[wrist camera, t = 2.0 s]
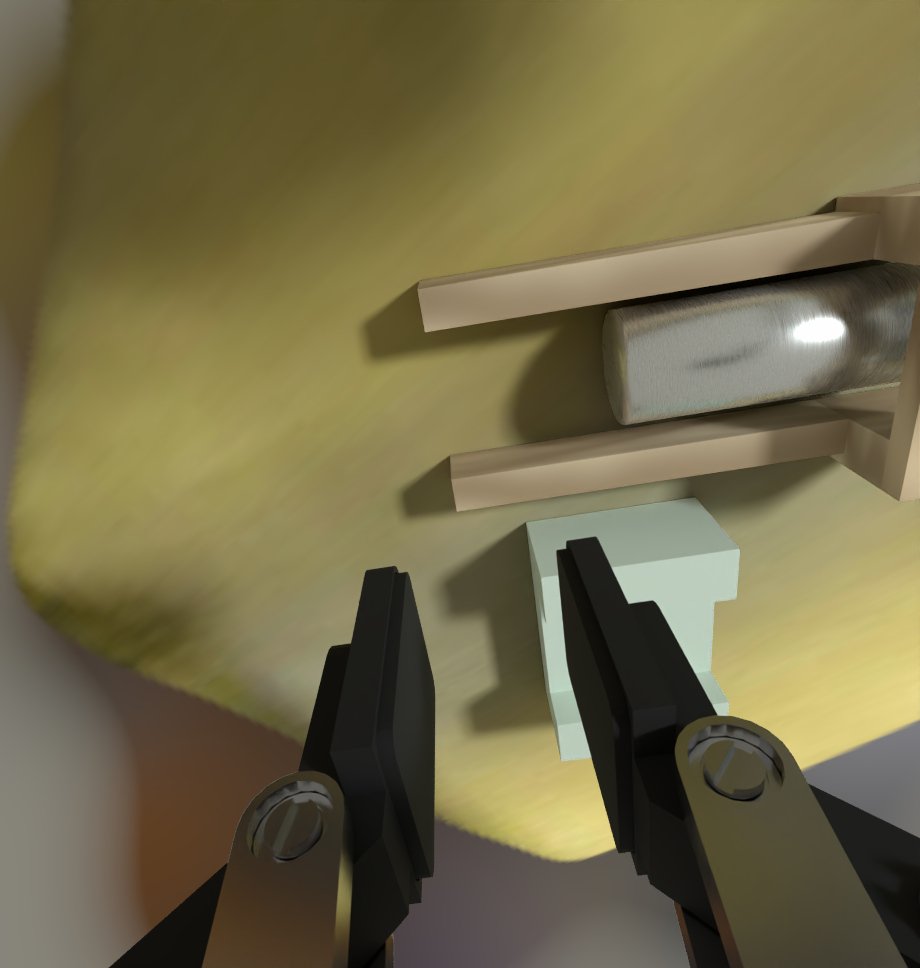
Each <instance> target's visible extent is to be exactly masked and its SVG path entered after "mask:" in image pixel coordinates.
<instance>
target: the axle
mask: <svg viewBox="0 0 920 968" xmlns="http://www.w3.org/2000/svg"><path fill="white" fill-rule="evenodd" d="M919 282H920V265H913V264H906V263H898V262H895V263H889V264H883V265H877V266H871V267H865V268H859V269H853V270H847V271H841V272H835V273H829V274H823V275H817V276H811V277H805V278H799V279H793V280H787V281H781V282H775V283H769V284H763V285H757V286H751V287H745V288H739V289H733V290H727V291H721V292H715V293H709V294H703V295H697V296H691V297H685V298H679V299H673V300H667V301H661V302H655V303H649V304H643V305H637V306H631V307H625V308H619V309H613V310H609V311H608V312H607V314H606V316H605V319H604V323H603V330H602V345H603V366H604V380H605V385H606V390H607V395H608V399H609V402H610V405H611V408H612V411H613V413H614V415H615V417H616V419H617V421H618V422H619V423H620V424H621V425H628V424H634V423H641V422H647V421H653V420H659V419H666V418H672V417H678V416H685V415H691V414H697V413H704V412H710V411H716V410H723V409H729V408H735V407H742V406H748V405H754V404H761V403H767V402H773V401H780V400H786V399H792V398H799V397H805V396H811V395H818V394H824V393H830V392H836V391H843V390H849V389H855V388H862V387H868V386H874V385H881V384H887V383H893V382H900V381H901V378H902V372H903V367H904V362H905V356H906V351H907V346H908V340H909V335H910V330H911V324H912V319H913V314H914V309H915V303H916V298H917V293H918V287H919Z"/></svg>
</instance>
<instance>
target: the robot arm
mask: <svg viewBox="0 0 920 968" xmlns="http://www.w3.org/2000/svg"><path fill="white" fill-rule="evenodd" d="M556 557H557V567H558V578H559V589H560V599H561V610H562V620H563V631H564V641H565V652H566V661H567V667H568V673H569V677H570V681H571V685H572V688H573V692H574V696H575V699H576V703H577V706H578V710H579V714H580V717H581V721H582V725H583V728H584V732H585V736H586V739H587V743H588V746H589V750H590V754H591V757H592V761H593V765H594V768H595V772H596V776H597V779H598V783H599V787H600V790H601V794H602V797H603V801H604V805H605V808H606V812H607V816H608V819H609V823H610V827H611V830H612V834H613V837H614V841H615V845H616V848H617V850H618V852H619V853H625V852H631V855H632V858H633V862H634V865H635V868H636V872H637V875H646V874H647V875H648V879H649V882H650V884H651V885H653V886H654V887H655V888H657V889H658V890H660V891H661V892H663V893H664V894H665V895H667V896H668V897H670V898H671V899H673V900H674V908H675V911H676V915H677V919H678V922H679V927H680V931H681V934H682V938H683V942H684V946H685V950H686V953H687V957H688V961H689V965H690V968H920V838H918V837H916V836H914V835H912V834H910V833H908V832H906V831H904V830H902V829H900V828H898V827H896V826H894V825H892V824H890V823H888V822H886V821H884V820H882V819H879V818H877V817H875V816H873V815H871V814H869V813H867V812H865V811H863V810H861V809H859V808H857V807H855V806H853V805H851V804H849V803H847V802H845V801H843V800H840V799H838V798H836V797H834V796H832V795H830V794H828V793H826V792H824V791H822V790H820V789H818V788H816V787H814V786H812V785H810V784H808V783H807V781H806V779H805V778H804V775H803V774H802V772H801V770H800V768H799V766H798V764H797V762H796V761H795V759H794V757H793V756H792V754H791V753H790V752H789V750H788V749H787V747H786V746H785V745H784V743H783V742H782V741H781V740H779V739H778V738H777V737H776V736H774V735H773V734H772V733H771V732H770V731H768V730H767V729H765V728H763V727H761V726H759V725H757V724H755V723H753V722H751V721H748V720H744V719H741V718H737V717H733V716H718V714H717V713H716V711H715V709H714V707H713V705H712V703H711V702H710V700H709V698H708V696H707V694H706V692H705V690H704V689H703V687H702V685H701V683H700V681H699V679H698V678H697V676H696V674H695V672H694V670H693V668H692V667H691V665H690V663H689V661H688V659H687V657H686V656H685V654H684V652H683V650H682V648H681V646H680V644H679V643H678V641H677V639H676V637H675V635H674V633H673V632H672V630H671V628H670V626H669V624H668V622H667V621H666V619H665V617H664V615H663V613H662V611H661V610H660V608H659V606H658V605H657V603H656V602H654V601H653V600H651V601H644V602H637V603H630V604H629V603H628V601H627V599H626V597H625V595H624V593H623V591H622V589H621V587H620V584H619V582H618V580H617V578H616V576H615V574H614V572H613V570H612V567H611V565H610V563H609V561H608V559H607V557H606V555H605V553H604V551H603V548H602V546H601V544H600V542H599V540H598V538H597V537H596V536H594V537H588V538H581V539H574V540H567V541H566V549H560V550H557V551H556ZM434 794H435V687H434V680H433V675H432V671H431V666H430V662H429V658H428V654H427V649H426V645H425V641H424V636H423V632H422V628H421V623H420V619H419V615H418V611H417V606H416V602H415V598H414V593H413V589H412V585H411V581H410V577H409V574H408V572H404V573H399V572H398V570H397V567H396V566H392V567H385V568H378V569H371V570H367V571H366V572H365V576H364V581H363V586H362V591H361V596H360V601H359V606H358V612H357V617H356V622H355V627H354V632H353V637H352V642H351V644H344V645H337V646H332V647H331V648H330V649H329V651H328V654H327V657H326V661H325V665H324V669H323V673H322V677H321V682H320V686H319V690H318V694H317V698H316V702H315V706H314V710H313V714H312V718H311V722H310V726H309V730H308V734H307V738H306V742H305V746H304V750H303V754H302V758H301V763H300V767H299V771H298V772H296V773H293V774H290V775H287V776H284V777H281V778H280V779H278V780H276V781H275V782H273V783H271V784H270V785H268V786H267V787H266V788H264V789H263V790H262V791H261V792H260V793H259V794H258V795H257V796H256V797H255V798H254V799H253V800H252V801H251V803H250V804H249V805H248V807H247V808H246V810H245V811H244V813H243V814H242V816H241V819H240V821H239V824H238V826H237V829H236V832H235V836H234V840H233V844H232V848H231V852H230V856H229V860H228V863H227V864H225V865H224V866H223V867H222V868H221V869H220V870H219V871H218V872H217V873H215V874H214V875H213V876H212V877H211V878H210V879H209V880H208V881H206V882H205V883H204V884H203V885H202V886H201V887H199V888H198V889H197V890H196V891H195V892H194V893H193V894H192V895H191V896H189V897H188V898H187V899H186V900H185V901H184V902H183V903H182V904H180V905H179V906H178V907H177V908H176V909H175V910H174V911H172V912H171V913H170V914H169V915H168V916H167V917H166V918H164V920H162V921H161V922H160V923H159V924H158V925H157V926H155V927H154V928H153V929H152V930H151V931H150V932H149V933H148V934H147V935H146V936H144V937H143V938H142V939H141V940H140V941H139V942H137V943H136V944H135V945H134V946H133V947H132V948H131V949H130V950H128V951H127V952H126V953H125V954H124V955H123V956H122V957H121V958H120V959H118V960H117V961H116V962H115V963H114V964H113V965H111V966H110V967H109V968H394V939H393V932H394V931H395V929H396V928H397V927H398V926H399V925H400V924H401V922H402V921H403V920H404V919H405V918H406V916H407V915H408V914H409V904H414V903H421V891H422V878H428V877H433V872H434Z"/></svg>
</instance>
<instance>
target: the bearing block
mask: <svg viewBox="0 0 920 968" xmlns="http://www.w3.org/2000/svg"><path fill="white" fill-rule="evenodd" d="M872 259H875V260H883V261H890V262H898V263H906V264H913V265H920V183H918V184H912V185H906V186H900V187H894V188H888V189H882V190H876V191H870V192H864V193H858V194H852V195H846V196H840V197H837V202H836V210H835V212H830V213H824V214H818V215H812V216H806V217H800V218H794V219H788V220H782V221H776V222H770V223H764V224H758V225H752V226H746V227H740V228H734V229H728V230H722V231H716V232H710V233H704V234H698V235H692V236H686V237H680V238H674V239H668V240H662V241H656V242H650V243H644V244H638V245H632V246H626V247H620V248H613V249H607V250H601V251H595V252H589V253H583V254H577V255H571V256H565V257H559V258H553V259H547V260H541V261H535V262H529V263H523V264H517V265H511V266H505V267H499V268H493V269H487V270H481V271H475V272H469V273H463V274H457V275H451V276H445V277H439V278H433V279H427V280H421V281H419V285H418V289H417V290H418V296H419V302H420V307H421V313H422V318H423V324H424V330H425V332H430V331H436V330H442V329H449V328H455V327H461V326H467V325H473V324H479V323H485V322H492V321H498V320H504V319H510V318H516V317H522V316H528V315H534V314H541V313H547V312H553V311H559V310H565V309H571V308H577V307H584V306H590V305H596V304H602V303H608V302H614V301H620V300H627V299H633V298H639V297H645V296H651V295H657V294H663V293H669V292H676V291H682V290H688V289H694V288H700V287H706V286H712V285H719V284H725V283H731V282H737V281H743V280H749V279H755V278H761V277H768V276H774V275H780V274H786V273H792V272H798V271H804V270H811V269H817V268H823V267H829V266H835V265H841V264H847V263H853V262H860V261H866V260H872ZM822 456H830V457H832V458H833V459H835V460H836V461H838V462H839V463H841V464H843V465H844V466H846V467H847V468H849V469H850V470H852V471H853V472H855V473H856V474H858V475H859V476H861V477H863V478H864V479H866V480H867V481H869V482H870V483H872V484H873V485H875V486H876V487H878V488H879V489H881V490H883V491H884V492H886V493H887V494H889V495H890V496H892V497H893V498H895V499H896V500H898V501H899V502H900V501H906V500H913V499H920V282H919V287H918V293H917V298H916V303H915V309H914V314H913V319H912V324H911V330H910V335H909V340H908V346H907V351H906V356H905V362H904V367H903V372H902V378H901V383H900V386H897V387H890V388H884V389H878V390H871V391H865V392H858V393H852V394H845V395H839V396H832V397H826V398H819V399H813V400H806V401H800V402H793V403H787V404H781V405H774V406H768V407H761V408H755V409H748V410H742V411H735V412H729V413H722V414H716V415H709V416H703V417H696V418H690V419H684V420H677V421H671V422H664V423H658V424H651V425H645V426H638V427H632V428H625V429H619V430H612V431H606V432H599V433H593V434H587V435H580V436H574V437H567V438H561V439H554V440H548V441H541V442H535V443H528V444H522V445H515V446H509V447H502V448H496V449H490V450H483V451H477V452H470V453H464V454H457V455H451V456H450V463H451V481H452V487H453V492H454V498H455V504H456V509H457V512H458V511H464V510H471V509H478V508H484V507H491V506H497V505H504V504H511V503H517V502H524V501H531V500H537V499H544V498H550V497H557V496H564V495H570V494H577V493H584V492H590V491H597V490H604V489H610V488H617V487H623V486H630V485H637V484H643V483H650V482H657V481H663V480H670V479H676V478H683V477H690V476H696V475H703V474H710V473H716V472H723V471H729V470H736V469H743V468H749V467H756V466H763V465H769V464H776V463H782V462H789V461H796V460H802V459H809V458H816V457H822Z"/></svg>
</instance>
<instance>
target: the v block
mask: <svg viewBox="0 0 920 968" xmlns="http://www.w3.org/2000/svg"><path fill="white" fill-rule="evenodd" d="M526 527H527V535H528V543H529V552H530V560H531V569H532V577H533V585H534V594H535V602H536V611H537V619H538V627H539V636H540V644H541V653H542V661H543V669H544V678H545V686H546V693H547V698H548V702H549V707H550V711H551V716H552V721H553V725H554V730H555V734H556V739H557V743H558V748H559V753H560V757H561V762H562V761H570V760H577V759H585V758H592V757H591V754H590V750H589V746H588V743H587V739H586V736H585V732H584V728H583V725H582V721H581V717H580V714H579V710H578V706H577V703H576V699H575V696H574V692H573V688H572V685H571V681H570V677H569V673H568V667H567V661H566V652H565V641H564V631H563V620H562V610H561V599H560V589H559V578H558V567H557V557H556V551H557V550H560V549H566V541H567V540H574V539H581V538H588V537H594V536H596V537H597V538H598V540H599V542H600V544H601V546H602V548H603V551H604V553H605V555H606V557H607V559H608V561H609V563H610V565H611V567H612V570H613V572H614V574H615V576H616V578H617V580H618V582H619V584H620V587H621V589H622V591H623V593H624V595H625V597H626V599H627V601H628V603H629V604H630V603H637V602H644V601H651V600H653V601H654V602H656V603H657V605H658V606H659V608H660V610H661V611H662V613H663V615H664V617H665V619H666V621H667V622H668V624H669V626H670V628H671V630H672V632H673V633H674V635H675V637H676V639H677V641H678V643H679V644H680V646H681V648H682V650H683V652H684V654H685V656H686V657H687V659H688V661H689V663H690V665H691V667H692V668H693V670H694V672H695V674H696V676H697V678H698V679H699V681H700V683H701V685H702V687H703V689H704V690H705V692H706V694H707V696H708V698H709V700H710V702H711V703H712V705H713V707H714V709H715V711H716V713H717V714H718V716H728V709H729V701H728V700H727V698H726V696H725V695H724V693H723V691H722V689H721V688H720V686H719V684H718V682H717V681H716V679H715V677H714V676H713V674H712V672H711V656H712V637H713V617H714V602H718V601H725V600H732V599H736V597H737V583H738V569H739V555H740V548H739V547H738V546H737V545H736V544H735V543H734V541H733V540H732V539H731V538H730V537H729V536H728V534H727V533H726V532H725V531H724V530H723V529H722V528H721V526H720V525H719V524H718V523H717V522H716V521H715V519H714V518H713V517H712V516H711V515H710V514H709V513H708V511H707V510H706V509H705V508H704V507H703V506H702V505H701V503H700V502H699V501H698V500H697V499H696V498H695V497H693V498H686V499H679V500H673V501H666V502H659V503H653V504H646V505H639V506H633V507H626V508H619V509H613V510H606V511H599V512H593V513H586V514H579V515H572V516H566V517H559V518H552V519H546V520H539V521H532V522H526Z"/></svg>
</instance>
